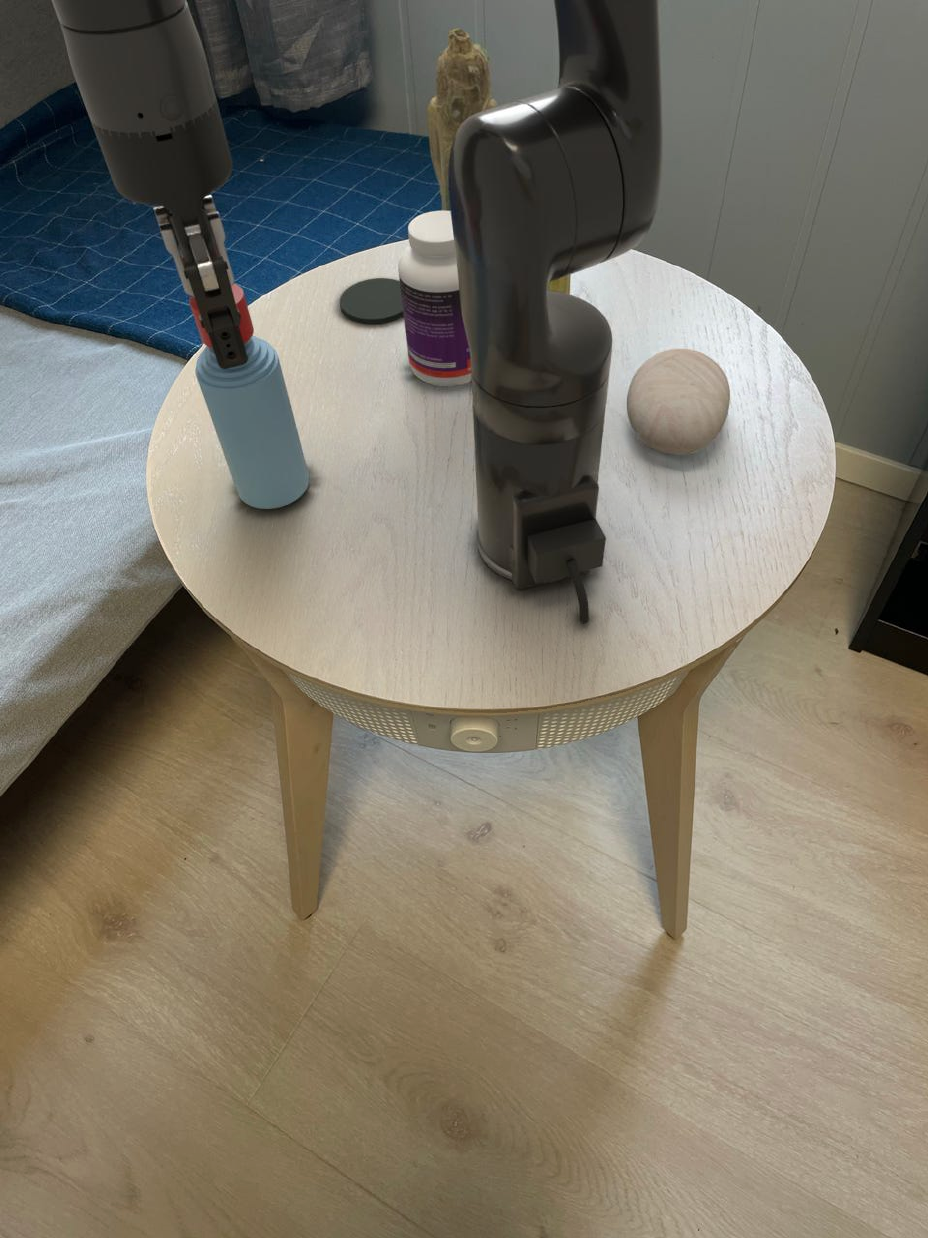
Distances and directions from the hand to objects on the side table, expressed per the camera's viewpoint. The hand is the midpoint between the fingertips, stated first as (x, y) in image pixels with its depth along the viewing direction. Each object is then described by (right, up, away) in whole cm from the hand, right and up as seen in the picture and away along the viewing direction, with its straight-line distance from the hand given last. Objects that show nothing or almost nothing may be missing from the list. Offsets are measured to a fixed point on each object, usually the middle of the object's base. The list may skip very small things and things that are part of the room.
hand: (228, 347), depth 64 cm
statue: (+19, +16, +29) cm, 38 cm away
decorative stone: (+37, -2, +14) cm, 40 cm away
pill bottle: (+16, +5, +21) cm, 27 cm away
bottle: (+1, -8, +11) cm, 14 cm away
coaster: (+8, +14, +28) cm, 33 cm away
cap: (0, +1, -1) cm, 1 cm away
